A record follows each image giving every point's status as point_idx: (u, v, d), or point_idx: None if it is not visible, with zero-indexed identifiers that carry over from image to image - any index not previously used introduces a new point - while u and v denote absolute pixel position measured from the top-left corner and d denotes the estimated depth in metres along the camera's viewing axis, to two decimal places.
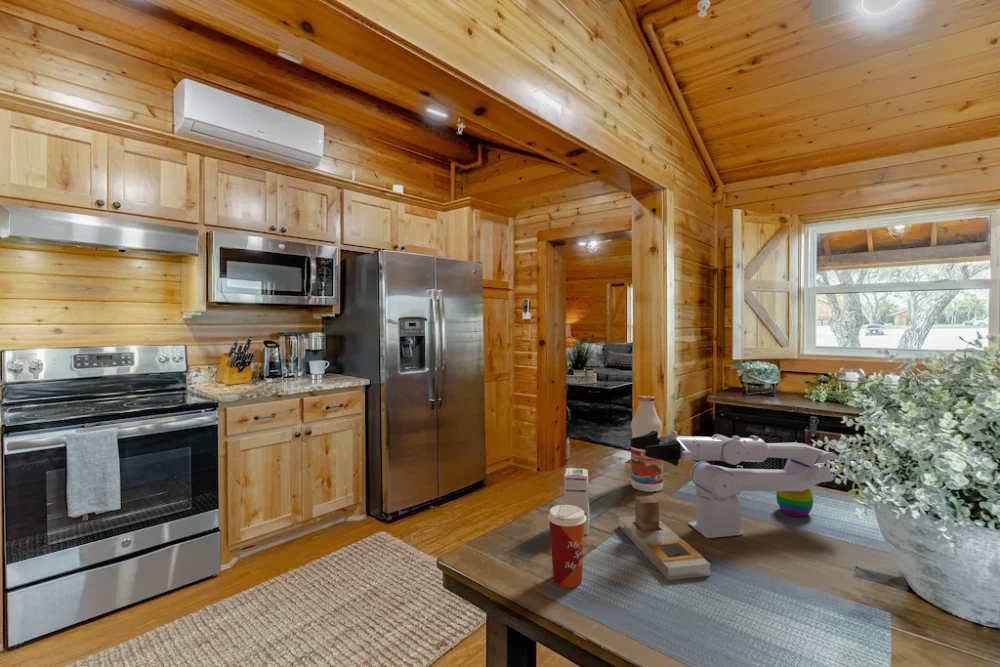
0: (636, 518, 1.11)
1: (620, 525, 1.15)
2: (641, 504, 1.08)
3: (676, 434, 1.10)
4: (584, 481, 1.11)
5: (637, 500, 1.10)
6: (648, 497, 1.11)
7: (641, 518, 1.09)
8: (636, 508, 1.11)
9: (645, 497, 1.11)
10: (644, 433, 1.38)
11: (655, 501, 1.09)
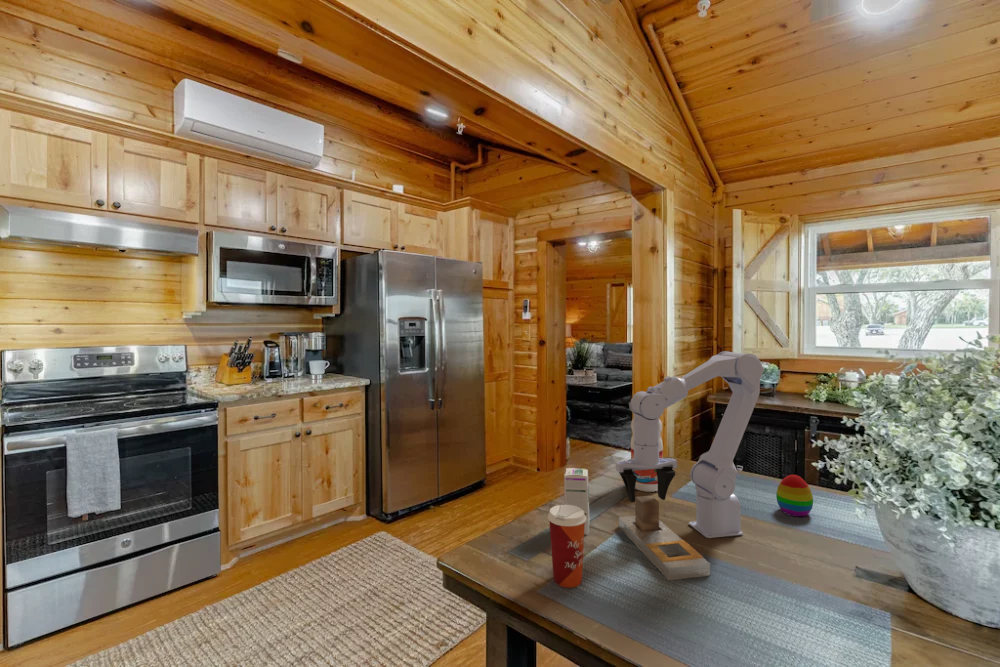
0: (636, 518, 1.11)
1: (620, 525, 1.15)
2: (641, 504, 1.08)
3: None
4: (584, 481, 1.11)
5: (637, 500, 1.10)
6: (648, 497, 1.11)
7: (641, 518, 1.09)
8: (636, 508, 1.11)
9: (645, 497, 1.11)
10: None
11: (655, 501, 1.09)
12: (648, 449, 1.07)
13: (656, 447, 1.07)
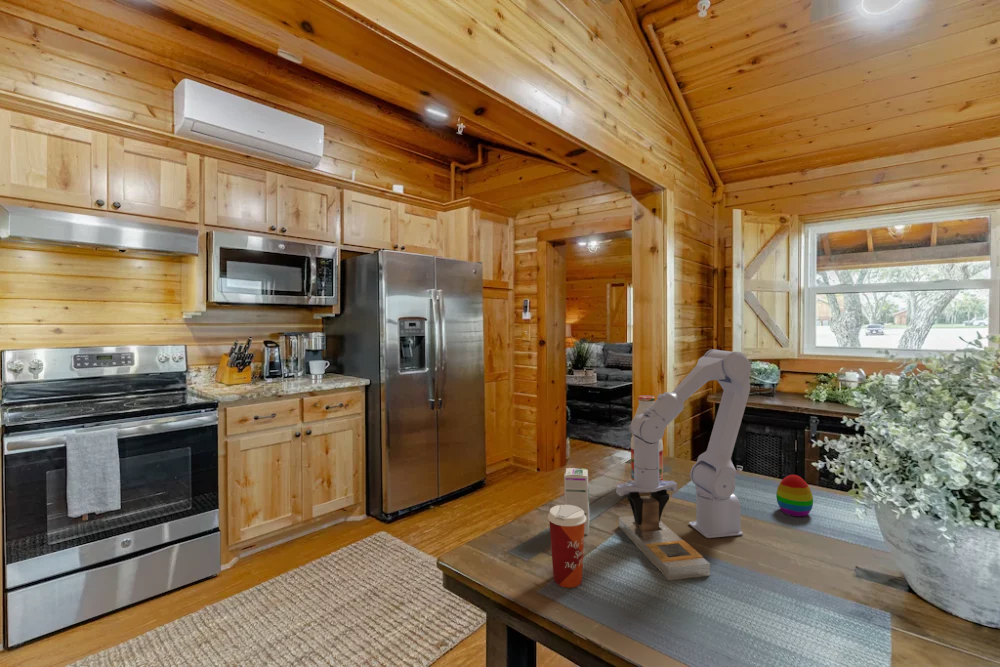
0: None
1: (620, 525, 1.15)
2: None
3: None
4: (584, 481, 1.11)
5: None
6: (648, 497, 1.11)
7: None
8: None
9: (645, 497, 1.11)
10: None
11: (655, 501, 1.09)
12: (648, 473, 1.07)
13: (656, 470, 1.07)
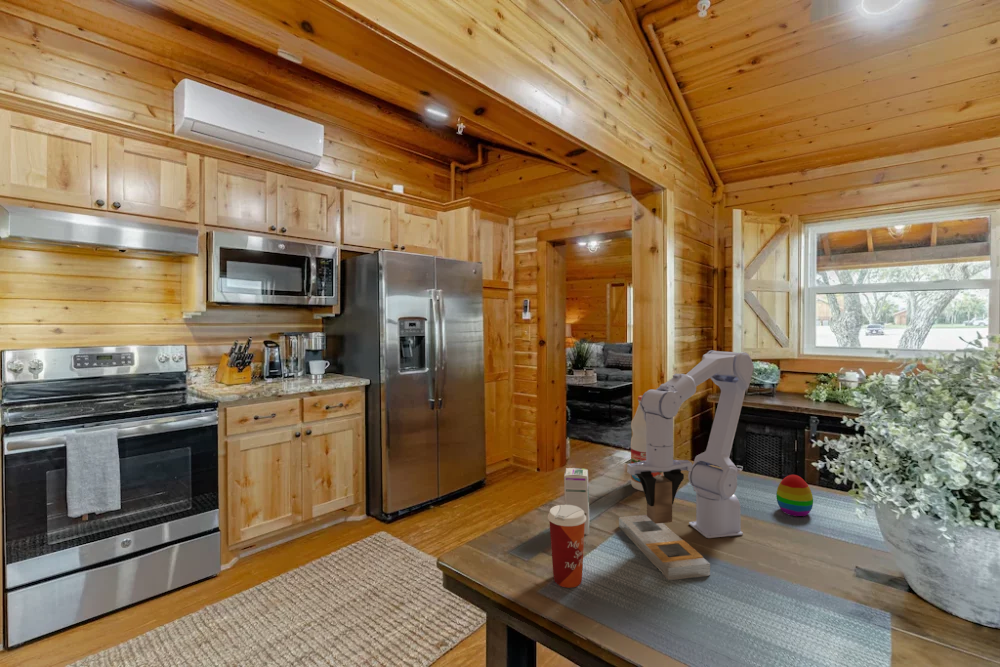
0: None
1: (620, 525, 1.15)
2: None
3: None
4: (584, 481, 1.11)
5: None
6: (660, 477, 1.05)
7: None
8: None
9: (657, 477, 1.05)
10: (644, 433, 1.38)
11: (668, 481, 1.02)
12: (661, 450, 1.00)
13: (670, 448, 1.01)
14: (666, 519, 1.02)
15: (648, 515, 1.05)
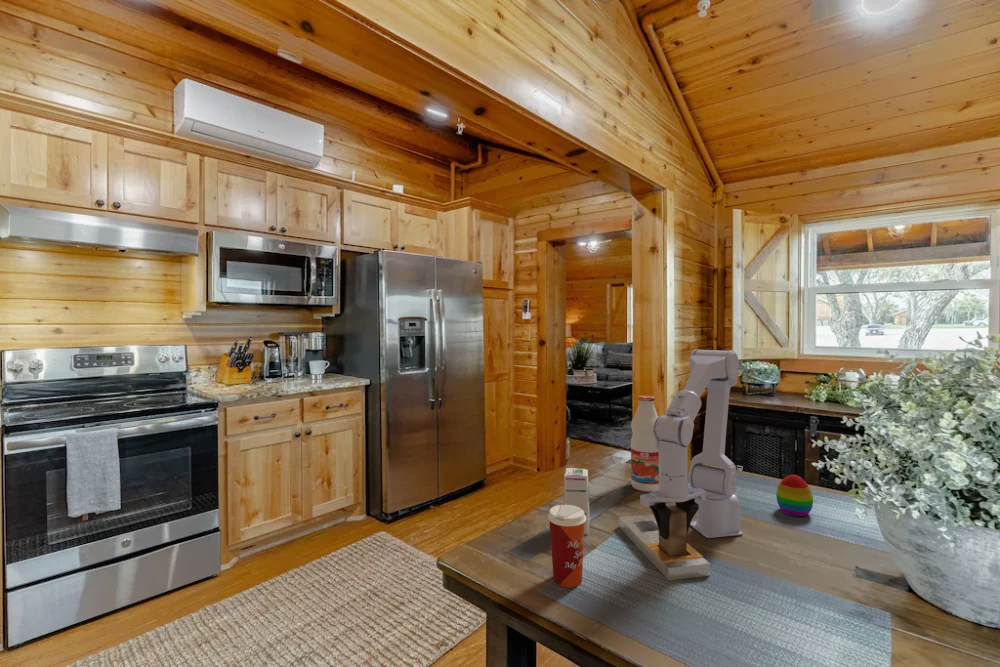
0: None
1: (620, 525, 1.15)
2: None
3: None
4: (584, 481, 1.11)
5: None
6: (673, 507, 1.00)
7: None
8: None
9: (670, 507, 1.00)
10: (644, 433, 1.38)
11: (682, 512, 0.97)
12: (677, 480, 0.95)
13: (685, 478, 0.96)
14: (680, 552, 0.97)
15: (660, 548, 0.99)
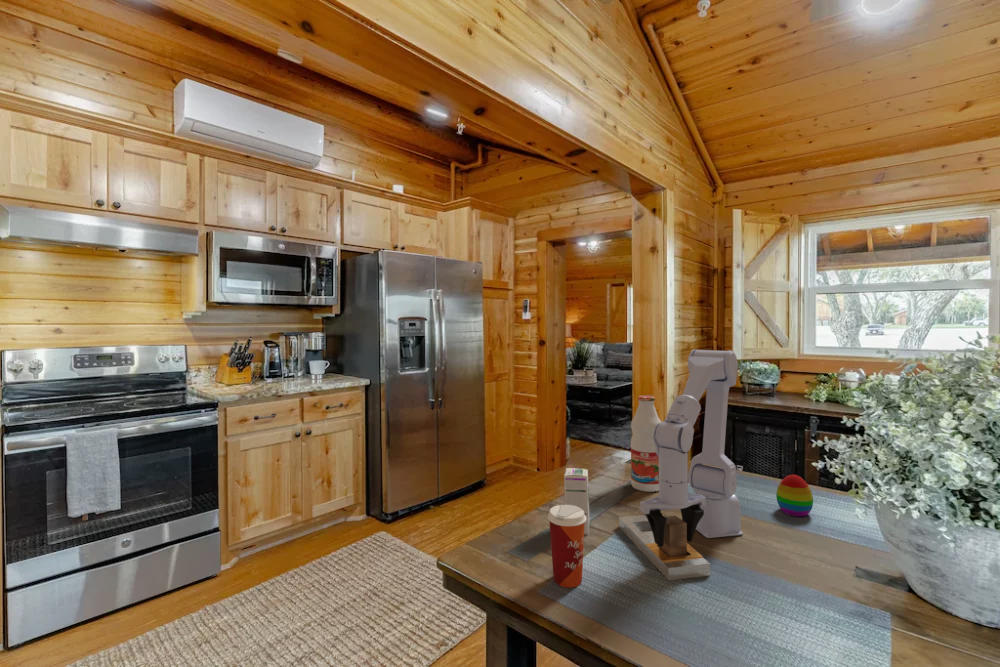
0: None
1: (620, 525, 1.15)
2: (668, 526, 0.97)
3: None
4: (584, 481, 1.11)
5: None
6: (673, 517, 1.00)
7: (667, 542, 0.97)
8: None
9: (670, 518, 1.00)
10: (644, 433, 1.38)
11: (682, 522, 0.97)
12: (677, 487, 0.95)
13: (685, 484, 0.96)
14: None
15: None
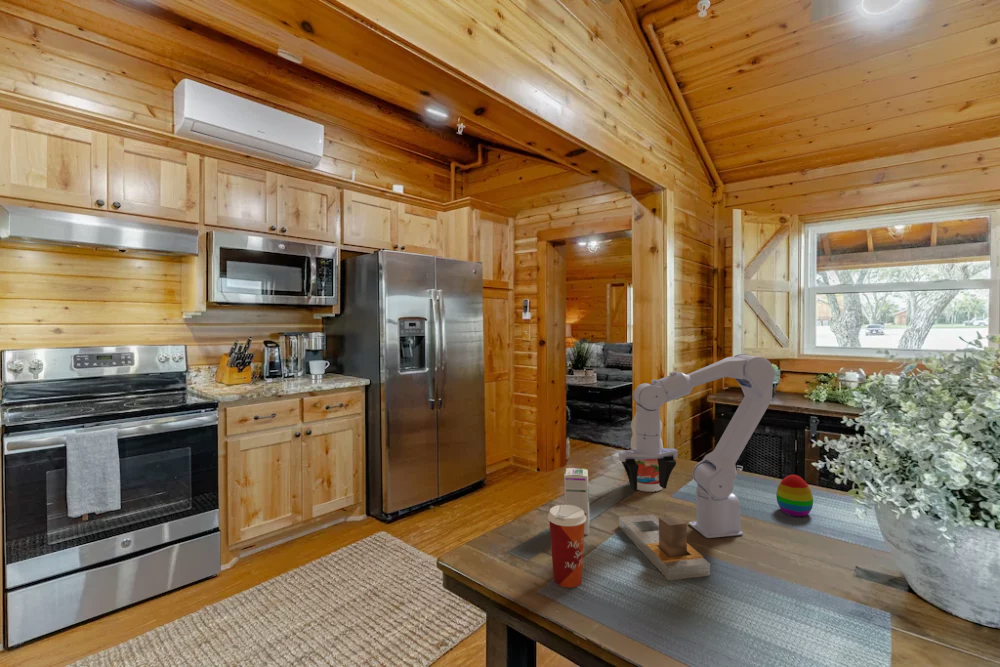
0: (660, 541, 0.99)
1: (620, 525, 1.15)
2: (668, 526, 0.97)
3: None
4: (584, 481, 1.11)
5: (662, 521, 0.99)
6: (673, 517, 1.00)
7: (667, 542, 0.97)
8: (660, 530, 0.99)
9: (670, 518, 1.00)
10: None
11: (682, 522, 0.97)
12: (650, 439, 1.10)
13: (657, 437, 1.10)
14: None
15: None
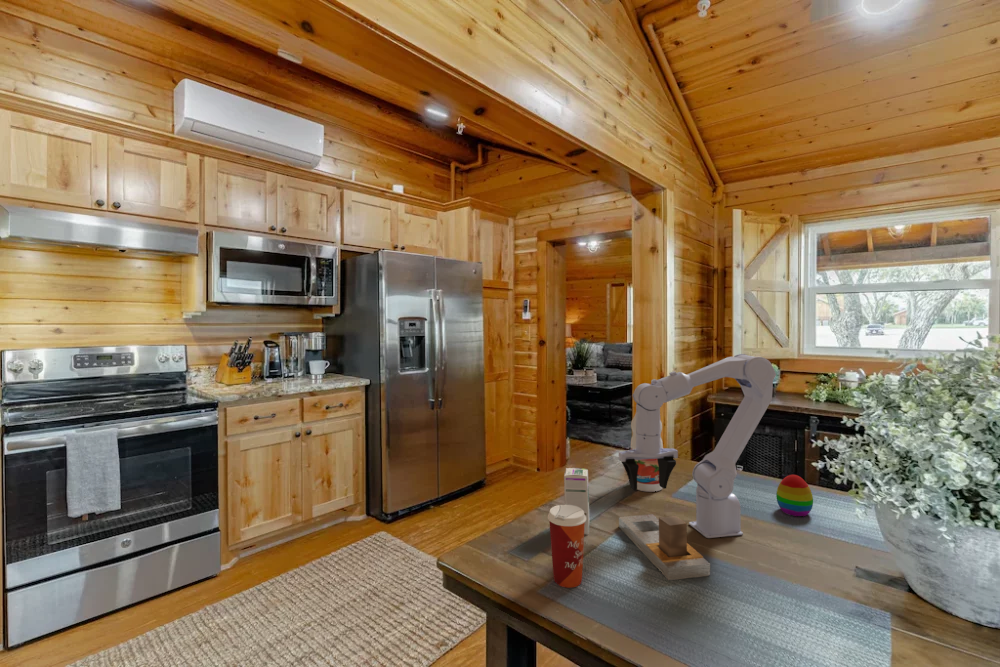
0: (660, 541, 0.99)
1: (620, 525, 1.15)
2: (668, 526, 0.97)
3: None
4: (584, 481, 1.11)
5: (662, 521, 0.99)
6: (673, 518, 1.00)
7: (667, 542, 0.97)
8: (660, 530, 0.99)
9: (670, 518, 1.00)
10: None
11: (682, 522, 0.97)
12: (650, 439, 1.10)
13: (657, 437, 1.10)
14: None
15: None
